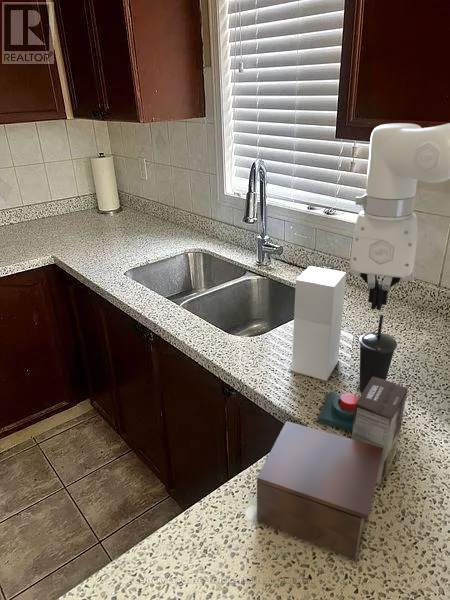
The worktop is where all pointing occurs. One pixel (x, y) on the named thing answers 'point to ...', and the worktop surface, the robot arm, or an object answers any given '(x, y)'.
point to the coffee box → (380, 419)
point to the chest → (309, 520)
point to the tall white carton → (317, 321)
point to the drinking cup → (375, 355)
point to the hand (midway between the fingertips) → (376, 306)
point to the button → (348, 401)
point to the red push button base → (336, 413)
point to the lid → (323, 468)
